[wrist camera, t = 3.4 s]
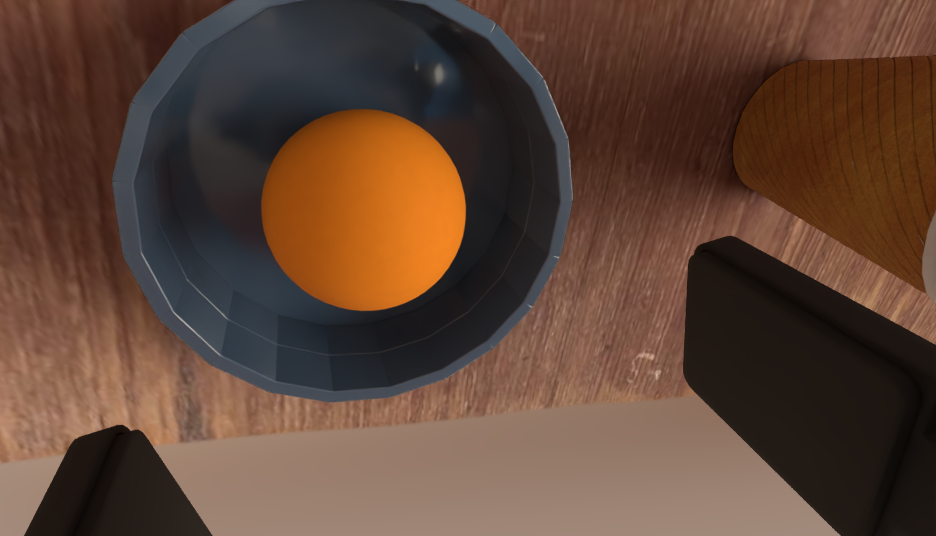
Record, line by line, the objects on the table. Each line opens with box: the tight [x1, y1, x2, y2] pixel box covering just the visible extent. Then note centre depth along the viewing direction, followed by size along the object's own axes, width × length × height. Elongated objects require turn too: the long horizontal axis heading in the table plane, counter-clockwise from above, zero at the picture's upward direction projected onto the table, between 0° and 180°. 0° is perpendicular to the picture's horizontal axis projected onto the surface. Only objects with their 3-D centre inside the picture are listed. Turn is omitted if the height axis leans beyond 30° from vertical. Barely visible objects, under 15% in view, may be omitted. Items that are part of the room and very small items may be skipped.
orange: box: [261, 109, 466, 311], centre depth 17 cm, size 6×6×6 cm
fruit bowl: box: [112, 0, 573, 402], centre depth 18 cm, size 13×13×5 cm
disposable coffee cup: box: [733, 55, 936, 305], centre depth 20 cm, size 10×10×12 cm
